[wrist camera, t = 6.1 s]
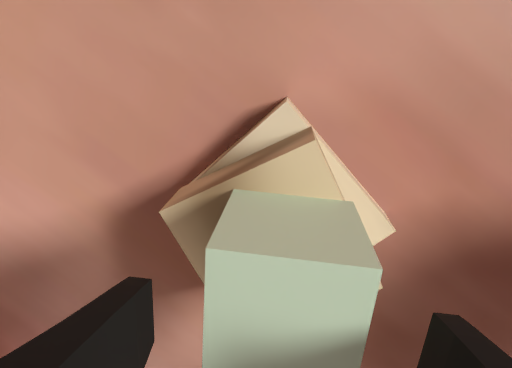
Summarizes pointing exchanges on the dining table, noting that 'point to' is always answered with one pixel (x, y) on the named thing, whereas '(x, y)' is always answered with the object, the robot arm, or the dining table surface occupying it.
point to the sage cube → (288, 284)
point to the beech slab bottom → (291, 122)
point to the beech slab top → (252, 179)
